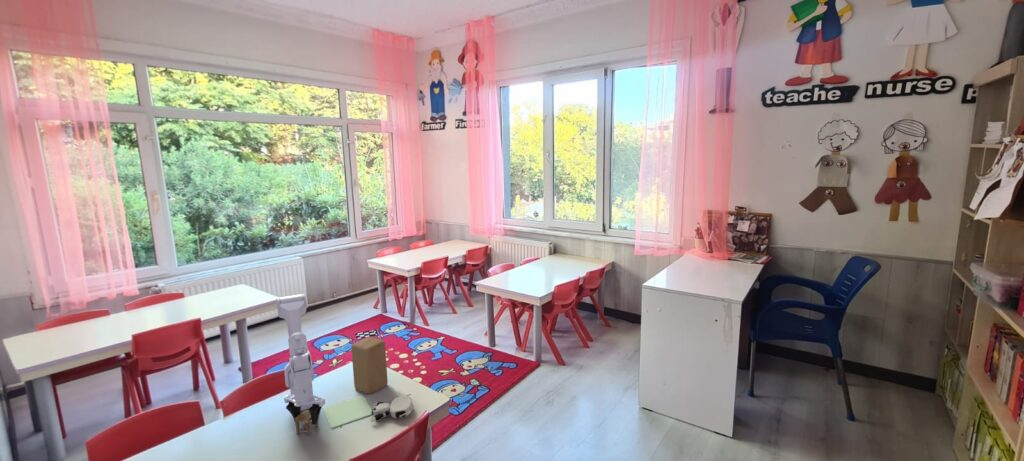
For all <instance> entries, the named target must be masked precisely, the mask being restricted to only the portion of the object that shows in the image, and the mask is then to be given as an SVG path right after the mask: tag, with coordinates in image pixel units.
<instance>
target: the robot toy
mask: <svg viewBox="0 0 1024 461" xmlns="http://www.w3.org/2000/svg"><path fill="white" fill-rule="evenodd" d="M410 396H412V393H409V394H407V395H403V396H397V397H395V398H394V399H393V400H392V401H391V402H390V403H389V402H383V401H378V402H375V403H373V408H372V409H371V410H372V414H373V417H371V418H370V421H371V422H372V423H373V422H375V421H376V422H378V421H380V420H382V419H384V418H386V417H389V416H391V417H392V418H394V419H403V418H405V417H408V416H409V415H410V414H411V413H412V411H413V408H414V403H413V399H412V397H410Z"/></svg>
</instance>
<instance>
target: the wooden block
mask: <svg viewBox="0 0 1024 461" xmlns="http://www.w3.org/2000/svg"><path fill="white" fill-rule="evenodd" d="M350 347H351V359H352V360H351V362H352V372H353V373H352V374H353V384H354V388H355V390H358V391H359V392H362V393H365V394H367V395H372V394H374V393H376V392H377V391H379V390H380V389H382V388H384V387H386V386H387V385H388V368H387V365H388V364H387V355H386V350H387V349H386V342H385V341H384V340H382V339H379V338H376V337H372V336H368V337H366V338H363V339H361V340H358V341H357V342H354V343H352V344H351V345H350Z"/></svg>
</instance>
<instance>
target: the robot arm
mask: <svg viewBox="0 0 1024 461" xmlns="http://www.w3.org/2000/svg"><path fill="white" fill-rule="evenodd" d="M276 308H277V314H278V318H281V319H284V320H285V322H286V323H287V324H286V325H287V334H288V339H287V342H288V350H289V356H290V357H289V360H288V361H289V362H288V363H287V364H285V366H284V382H285V387H287V388H289V391H290V392H289V393H290V394H287V395H286V396H285V397H283V400H284V402H283V403H284V404H287V405H286V408H285V409H286V410H287V411H288V412H289V413H290V414H291V416H292V418H293V421H294V422H295V418H296V417H297V416H298V415H299V414H301V413H302V412H303V411H304V410H308V411H309V412H310V415H311V418H312V420H311V422H312V424H311V425H313V426H315V424H316V423H317V422H318V423H319V417H320V413H321V410H322V409H323V407H324V405H325V404H326V398H323V397H319V396H317V395H315V394H314V391H313V382H314V380H315V371H314V366H313V362H312V356H311V352H310V349H309V347H308V343H307V342H308V341H307V340H308V339H307V335H306V334H305V333H302V319H301V318H302V315H305V314H306V312H307V308H308V303H307V296H306V294H305V293H299V294H293V295H286V296H279V297H278V296H277V298H276Z"/></svg>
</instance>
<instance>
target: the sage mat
mask: <svg viewBox="0 0 1024 461" xmlns="http://www.w3.org/2000/svg"><path fill="white" fill-rule="evenodd" d="M372 410H373V409H372V408H371V407H370V405H369V404H368V402H367V400H366V398H365V397H364V395H362V394H361V395H359V396H356V397H352V398H350V399H347V400H346V399H345V400H342V401H340V402H336V403H333V404H330V405H327V406H323V407H322V411H323V412H324V415H325V417H326V420H327V423H328V424H329V428H330V429H331V430H333V429H335V428H338V427H341V426H343V425H346V424H350V423H352V422H354V421H358V420H360V419H363V418H364V419H365V418H366V417H369V416H372V415H373V414H372ZM373 416H374V415H373Z"/></svg>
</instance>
